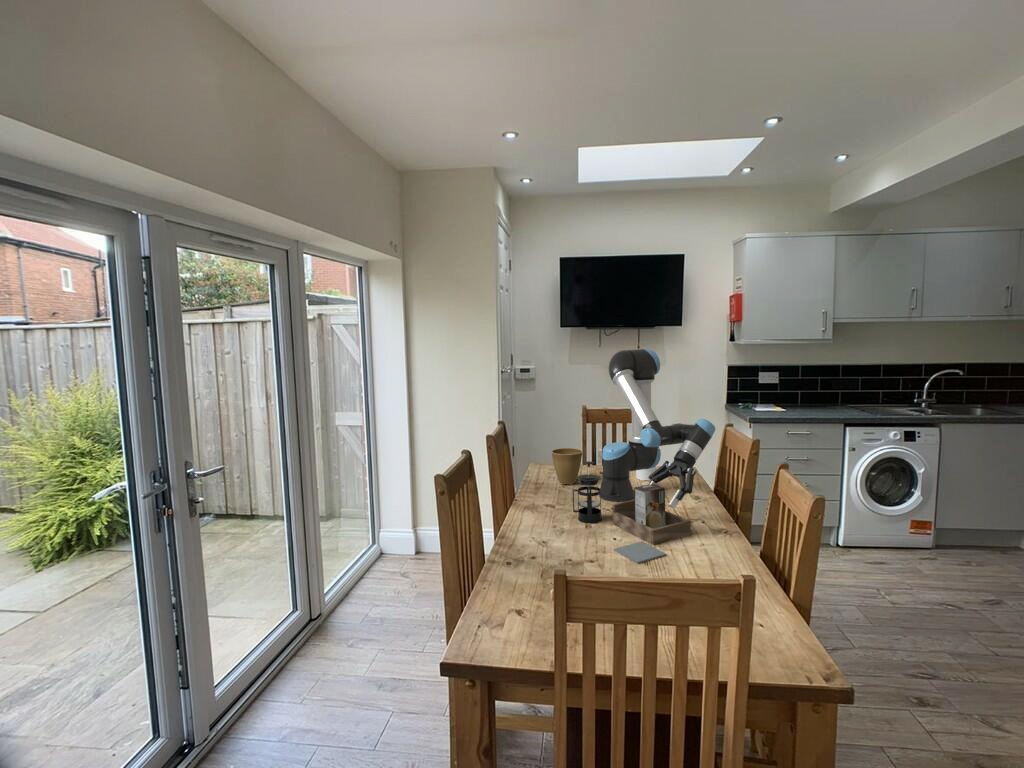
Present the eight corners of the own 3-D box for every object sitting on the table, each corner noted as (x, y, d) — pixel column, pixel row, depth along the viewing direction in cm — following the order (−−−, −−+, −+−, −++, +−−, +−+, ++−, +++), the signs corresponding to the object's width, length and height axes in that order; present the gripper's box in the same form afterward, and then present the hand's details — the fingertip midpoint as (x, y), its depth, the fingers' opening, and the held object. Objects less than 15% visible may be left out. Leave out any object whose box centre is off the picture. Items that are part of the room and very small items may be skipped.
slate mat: (613, 550, 179) (613, 548, 179) (641, 543, 184) (641, 541, 184) (637, 563, 168) (637, 561, 168) (666, 555, 174) (666, 553, 173)
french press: (603, 515, 213) (602, 459, 211) (604, 523, 204) (602, 465, 201) (573, 514, 214) (572, 459, 212) (573, 523, 205) (571, 465, 203)
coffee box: (654, 524, 201) (654, 483, 199) (666, 530, 195) (665, 487, 193) (635, 528, 197) (634, 486, 196) (645, 534, 191) (645, 491, 190)
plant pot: (584, 487, 251) (584, 454, 250) (553, 488, 252) (552, 455, 250) (581, 478, 266) (580, 447, 265) (551, 479, 266) (550, 448, 265)
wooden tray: (612, 524, 202) (612, 504, 201) (648, 516, 210) (647, 496, 209) (653, 544, 182) (653, 522, 182) (690, 534, 190) (690, 512, 189)
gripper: (719, 467, 191) (689, 516, 185) (669, 455, 213) (641, 498, 207) (708, 455, 188) (677, 505, 182) (658, 444, 210) (630, 487, 204)
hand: (658, 501), depth 195 cm, fingers open, 13 cm apart
